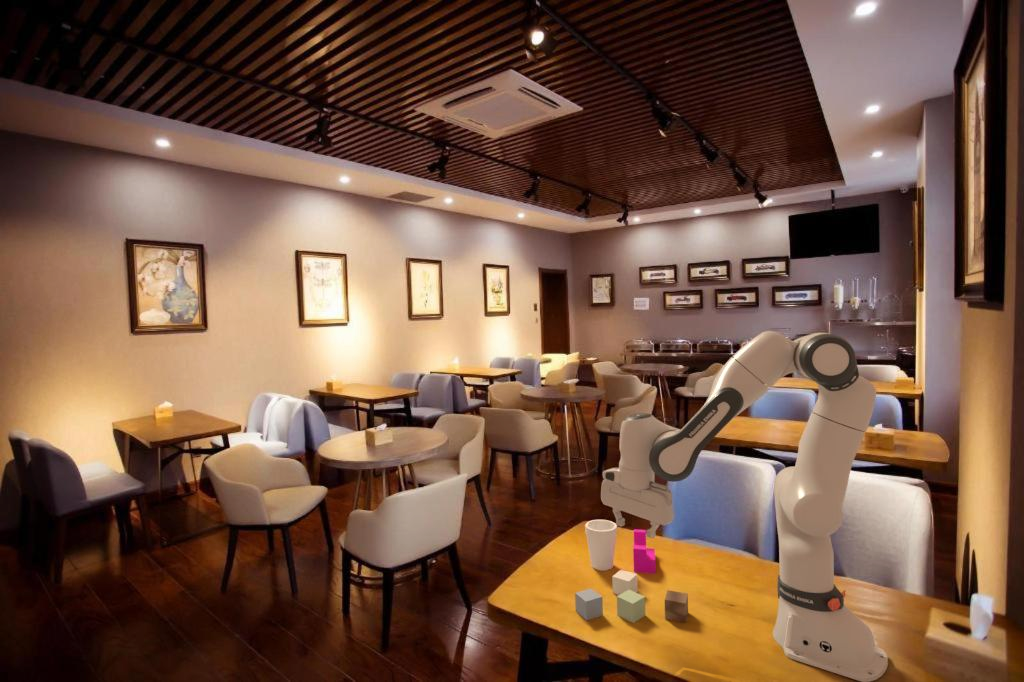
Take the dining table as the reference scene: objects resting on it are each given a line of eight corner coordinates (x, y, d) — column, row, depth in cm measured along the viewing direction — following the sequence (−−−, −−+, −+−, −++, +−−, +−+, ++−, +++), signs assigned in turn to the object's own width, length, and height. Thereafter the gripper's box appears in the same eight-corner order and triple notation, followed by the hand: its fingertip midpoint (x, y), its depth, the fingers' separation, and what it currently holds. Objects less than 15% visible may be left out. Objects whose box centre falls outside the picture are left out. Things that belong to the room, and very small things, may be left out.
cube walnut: (688, 612, 138) (687, 593, 138) (685, 623, 133) (685, 603, 133) (667, 609, 140) (667, 590, 140) (665, 619, 136) (664, 599, 135)
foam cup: (594, 576, 159) (592, 533, 158) (581, 563, 168) (580, 522, 167) (623, 571, 161) (622, 528, 161) (609, 558, 170) (608, 518, 170)
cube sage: (645, 615, 137) (645, 596, 137) (633, 623, 134) (633, 603, 134) (629, 608, 141) (628, 589, 141) (617, 615, 138) (616, 596, 138)
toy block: (655, 575, 159) (655, 550, 158) (633, 573, 160) (633, 548, 160) (654, 553, 173) (653, 530, 173) (634, 552, 175) (633, 529, 175)
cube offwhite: (637, 592, 149) (637, 574, 149) (629, 599, 145) (628, 581, 145) (621, 586, 152) (620, 569, 152) (612, 594, 149) (612, 576, 148)
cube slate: (602, 615, 138) (602, 596, 138) (586, 621, 136) (585, 601, 136) (591, 606, 142) (591, 588, 142) (575, 611, 140) (575, 592, 140)
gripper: (679, 485, 131) (678, 541, 132) (612, 466, 147) (611, 516, 147) (664, 490, 127) (663, 548, 128) (597, 470, 142) (596, 522, 143)
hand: (635, 531), depth 138 cm, fingers open, 8 cm apart
